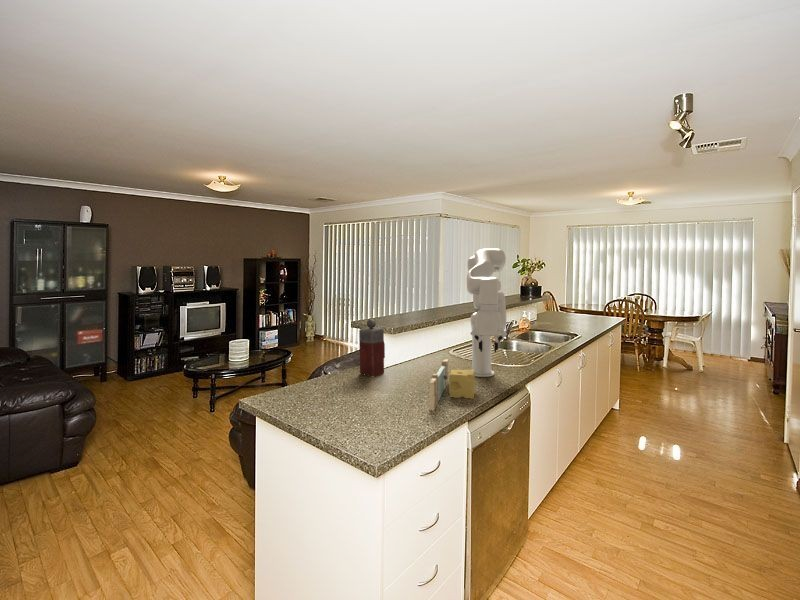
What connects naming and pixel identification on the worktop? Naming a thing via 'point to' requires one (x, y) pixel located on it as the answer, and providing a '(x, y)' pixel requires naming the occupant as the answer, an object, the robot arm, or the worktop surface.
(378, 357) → the red canister
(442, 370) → the door
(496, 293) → the robot arm
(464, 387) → the cheese
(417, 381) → the worktop surface
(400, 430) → the worktop surface
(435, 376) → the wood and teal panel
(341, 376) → the worktop surface
